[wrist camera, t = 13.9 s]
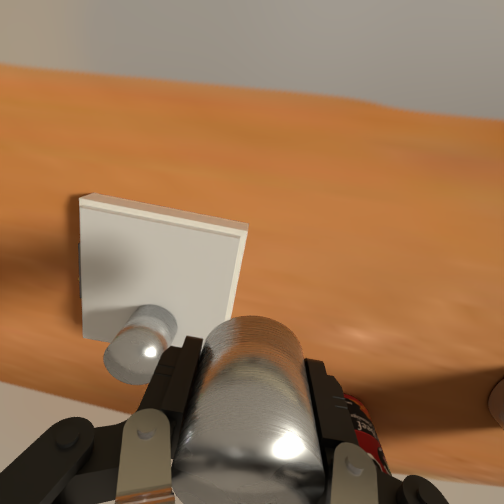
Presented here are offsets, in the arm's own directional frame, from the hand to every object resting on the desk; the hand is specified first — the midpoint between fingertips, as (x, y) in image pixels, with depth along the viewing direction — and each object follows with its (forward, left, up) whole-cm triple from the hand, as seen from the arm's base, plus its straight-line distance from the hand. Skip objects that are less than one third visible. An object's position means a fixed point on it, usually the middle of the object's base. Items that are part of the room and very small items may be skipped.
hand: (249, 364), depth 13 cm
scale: (+8, +6, -16) cm, 19 cm away
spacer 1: (+8, +9, -13) cm, 18 cm away
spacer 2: (0, 0, 0) cm, 0 cm away
